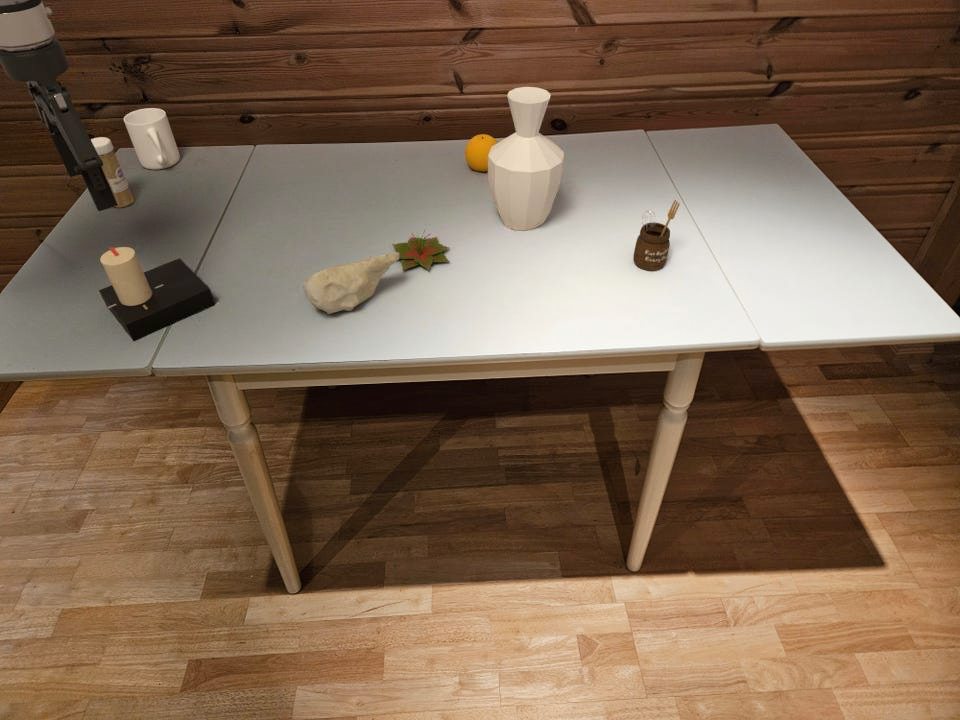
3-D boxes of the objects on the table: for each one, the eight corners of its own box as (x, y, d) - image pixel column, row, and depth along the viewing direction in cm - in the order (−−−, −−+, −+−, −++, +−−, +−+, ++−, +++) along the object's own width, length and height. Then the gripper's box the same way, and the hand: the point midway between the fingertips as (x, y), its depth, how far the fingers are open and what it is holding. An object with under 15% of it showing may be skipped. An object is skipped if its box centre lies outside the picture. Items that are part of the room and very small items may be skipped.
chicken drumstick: (295, 331, 110) (345, 305, 99) (279, 289, 109) (327, 260, 99) (364, 311, 121) (415, 286, 111) (349, 273, 120) (400, 245, 110)
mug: (148, 180, 143) (130, 133, 136) (137, 159, 151) (120, 113, 143) (188, 170, 147) (173, 124, 139) (176, 150, 154) (160, 104, 147)
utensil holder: (626, 257, 122) (637, 199, 113) (656, 250, 123) (668, 193, 115) (642, 274, 118) (654, 216, 109) (673, 267, 119) (687, 209, 111)
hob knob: (157, 297, 107) (138, 254, 102) (126, 310, 105) (106, 267, 99) (145, 283, 110) (126, 241, 104) (115, 295, 108) (94, 253, 102)
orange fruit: (504, 162, 149) (505, 130, 144) (494, 178, 144) (495, 145, 139) (471, 157, 151) (471, 125, 146) (460, 173, 146) (459, 140, 140)
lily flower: (382, 244, 125) (379, 223, 122) (442, 233, 128) (441, 213, 124) (395, 280, 117) (393, 258, 114) (460, 268, 119) (459, 246, 116)
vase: (529, 195, 138) (536, 74, 121) (573, 225, 130) (587, 99, 113) (473, 215, 132) (472, 91, 115) (515, 248, 124) (521, 118, 107)
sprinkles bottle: (132, 207, 135) (106, 145, 126) (108, 209, 135) (81, 147, 125) (137, 196, 138) (112, 135, 129) (114, 198, 138) (88, 136, 129)
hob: (129, 343, 105) (121, 325, 102) (103, 308, 111) (94, 290, 109) (215, 304, 112) (209, 287, 109) (185, 274, 118) (179, 257, 116)
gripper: (86, 60, 80) (147, 214, 94) (31, 14, 93) (92, 154, 108) (19, 75, 76) (93, 232, 91) (-29, 24, 90) (43, 168, 104)
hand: (92, 190), depth 99 cm, fingers open, 13 cm apart
